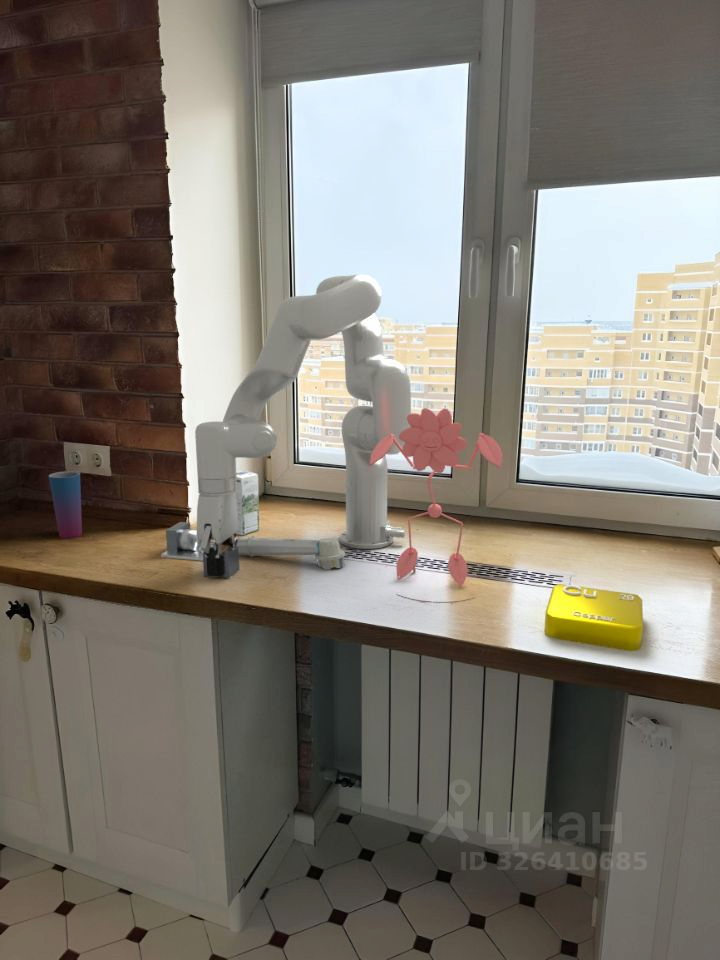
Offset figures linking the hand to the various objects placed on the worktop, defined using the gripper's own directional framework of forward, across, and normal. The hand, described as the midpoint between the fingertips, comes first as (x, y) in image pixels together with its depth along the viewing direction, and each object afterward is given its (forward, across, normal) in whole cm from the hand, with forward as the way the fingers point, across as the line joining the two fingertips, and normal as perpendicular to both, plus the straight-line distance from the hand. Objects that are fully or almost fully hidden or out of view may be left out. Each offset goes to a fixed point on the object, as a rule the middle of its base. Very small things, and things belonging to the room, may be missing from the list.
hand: (221, 569), depth 138 cm
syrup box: (+1, -27, -7) cm, 28 cm away
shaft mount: (+1, -10, -10) cm, 14 cm away
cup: (+1, -14, -46) cm, 48 cm away
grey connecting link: (+1, -10, +11) cm, 15 cm away
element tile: (+1, +7, +72) cm, 72 cm away
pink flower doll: (+1, -3, +42) cm, 42 cm away
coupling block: (+1, 0, 0) cm, 1 cm away
